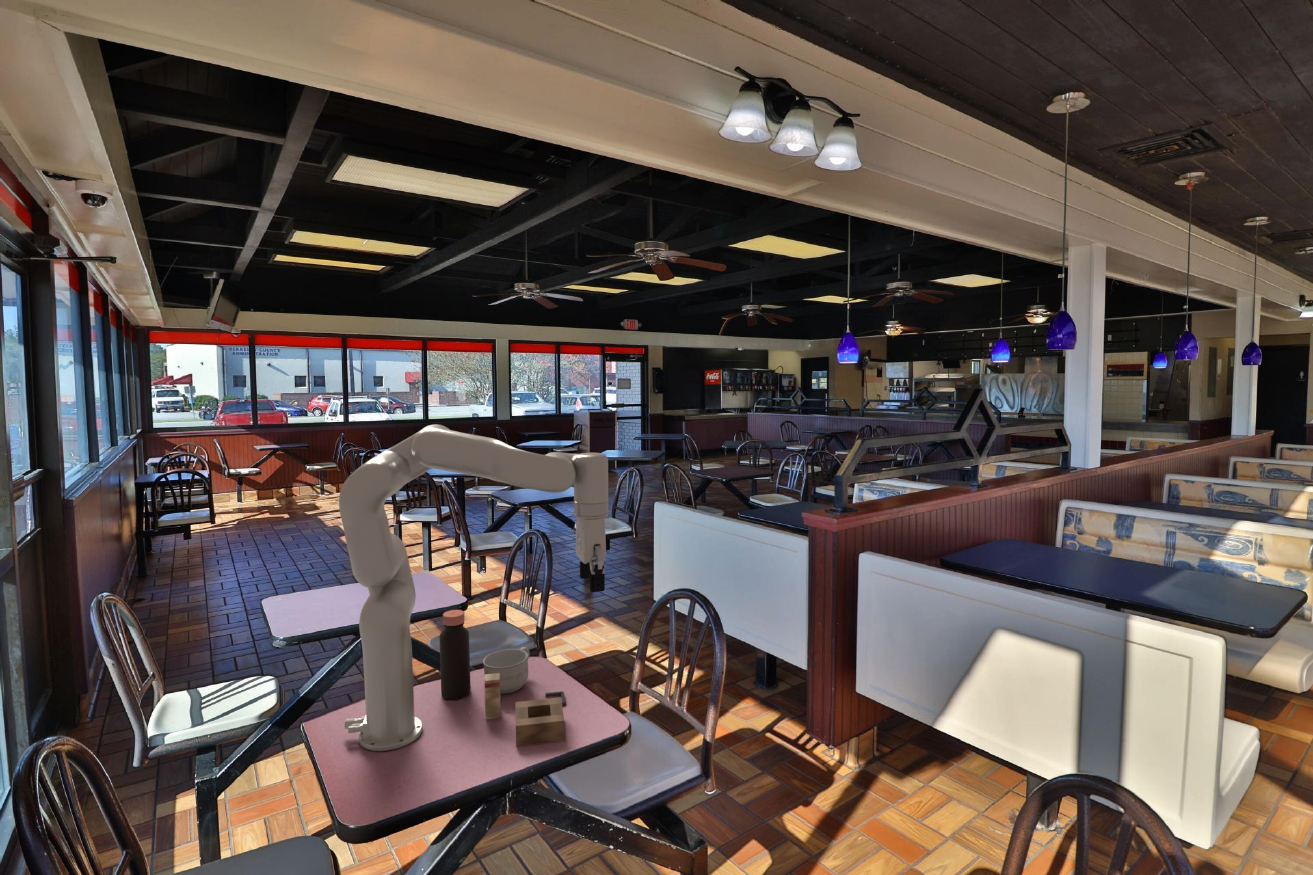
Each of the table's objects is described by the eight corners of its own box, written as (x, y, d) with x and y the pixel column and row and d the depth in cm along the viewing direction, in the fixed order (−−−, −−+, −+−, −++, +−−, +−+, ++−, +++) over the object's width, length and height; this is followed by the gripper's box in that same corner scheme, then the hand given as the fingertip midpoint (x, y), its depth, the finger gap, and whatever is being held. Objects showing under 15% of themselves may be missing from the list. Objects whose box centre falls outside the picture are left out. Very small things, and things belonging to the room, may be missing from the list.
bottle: (454, 703, 154) (452, 620, 152) (435, 695, 158) (432, 614, 156) (476, 691, 160) (474, 611, 158) (457, 684, 163) (455, 606, 161)
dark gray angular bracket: (529, 709, 151) (529, 706, 151) (528, 697, 157) (528, 694, 157) (565, 705, 153) (565, 702, 153) (563, 693, 159) (563, 690, 159)
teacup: (503, 703, 154) (502, 670, 153) (474, 689, 161) (473, 658, 160) (547, 681, 165) (546, 650, 164) (518, 669, 172) (517, 639, 171)
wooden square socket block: (516, 746, 136) (515, 725, 136) (515, 721, 146) (515, 702, 146) (564, 740, 139) (564, 720, 138) (561, 716, 148) (561, 697, 148)
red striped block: (485, 719, 147) (484, 680, 146) (486, 711, 150) (485, 674, 149) (500, 717, 148) (499, 679, 147) (500, 710, 151) (499, 672, 150)
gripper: (566, 502, 152) (567, 574, 154) (583, 518, 136) (584, 598, 138) (598, 500, 155) (598, 571, 156) (618, 516, 138) (618, 595, 140)
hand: (591, 584), depth 147 cm, fingers open, 9 cm apart
